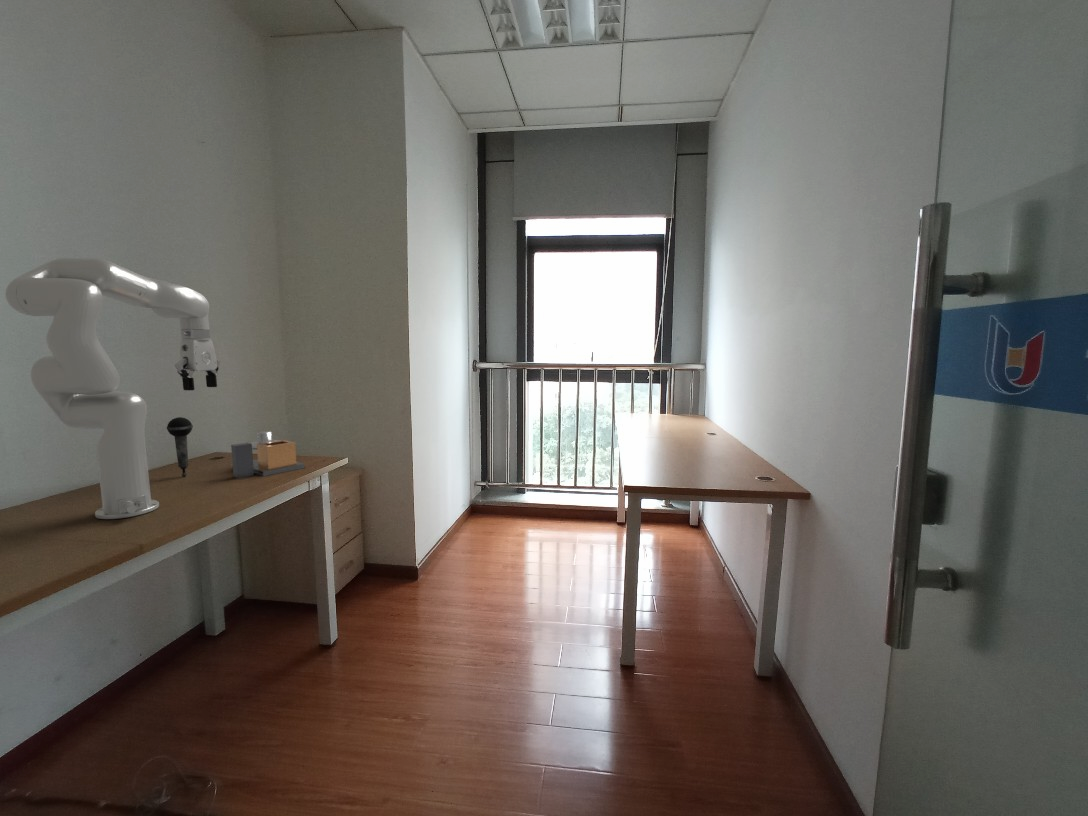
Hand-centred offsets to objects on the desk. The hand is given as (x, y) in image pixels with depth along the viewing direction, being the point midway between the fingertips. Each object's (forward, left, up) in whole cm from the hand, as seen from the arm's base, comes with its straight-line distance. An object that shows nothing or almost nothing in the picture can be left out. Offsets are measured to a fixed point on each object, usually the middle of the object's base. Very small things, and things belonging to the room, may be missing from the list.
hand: (200, 388), depth 152 cm
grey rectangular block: (-8, -7, -30) cm, 32 cm away
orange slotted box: (-3, -18, -30) cm, 35 cm away
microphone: (+7, +5, -30) cm, 31 cm away
